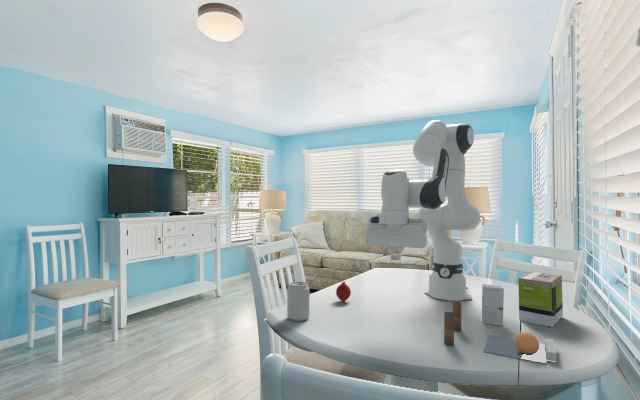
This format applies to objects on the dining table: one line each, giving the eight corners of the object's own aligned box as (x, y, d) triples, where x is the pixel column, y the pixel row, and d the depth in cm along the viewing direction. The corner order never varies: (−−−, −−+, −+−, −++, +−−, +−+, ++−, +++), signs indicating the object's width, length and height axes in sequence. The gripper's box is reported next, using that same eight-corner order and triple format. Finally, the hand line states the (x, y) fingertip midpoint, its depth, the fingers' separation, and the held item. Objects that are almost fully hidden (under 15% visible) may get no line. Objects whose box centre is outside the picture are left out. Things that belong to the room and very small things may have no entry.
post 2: (453, 327, 110) (453, 299, 110) (461, 329, 109) (461, 300, 109) (451, 330, 108) (451, 301, 108) (460, 332, 107) (460, 302, 107)
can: (312, 316, 121) (312, 281, 121) (304, 323, 114) (304, 286, 114) (292, 313, 123) (292, 279, 123) (283, 320, 116) (283, 284, 116)
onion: (349, 304, 136) (349, 283, 136) (335, 303, 137) (335, 282, 137) (351, 300, 141) (351, 280, 141) (337, 299, 142) (337, 279, 142)
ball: (509, 338, 96) (522, 324, 94) (529, 352, 94) (542, 338, 92) (510, 348, 91) (524, 334, 89) (530, 363, 89) (545, 349, 87)
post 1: (445, 341, 100) (445, 309, 100) (454, 343, 98) (454, 311, 98) (443, 344, 97) (443, 312, 97) (453, 346, 96) (453, 313, 96)
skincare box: (483, 324, 114) (483, 286, 114) (481, 319, 118) (481, 283, 119) (504, 326, 112) (504, 288, 112) (501, 321, 117) (501, 285, 117)
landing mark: (488, 334, 105) (488, 334, 105) (544, 344, 98) (544, 344, 98) (484, 351, 93) (484, 351, 93) (547, 364, 86) (547, 363, 86)
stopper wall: (544, 347, 96) (544, 338, 96) (553, 348, 95) (553, 339, 95) (546, 361, 87) (546, 351, 87) (556, 363, 86) (556, 353, 86)
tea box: (530, 311, 128) (530, 270, 128) (563, 317, 121) (563, 275, 121) (517, 320, 118) (518, 276, 118) (552, 328, 111) (553, 281, 111)
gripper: (429, 218, 114) (429, 260, 114) (370, 217, 124) (370, 256, 124) (424, 219, 108) (425, 264, 108) (363, 218, 118) (363, 259, 119)
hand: (395, 259), depth 116 cm, fingers closed
